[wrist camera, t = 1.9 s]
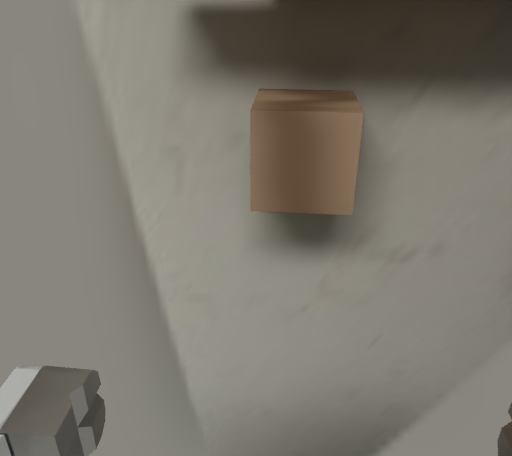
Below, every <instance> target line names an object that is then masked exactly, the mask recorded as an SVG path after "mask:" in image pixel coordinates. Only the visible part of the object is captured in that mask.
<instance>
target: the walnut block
mask: <svg viewBox="0 0 512 456" xmlns="http://www.w3.org/2000/svg"><path fill="white" fill-rule="evenodd" d="M363 117H364V112H363V110H362V108H361V106H360V104H359V102H358V100H357V98H356V96H355V94H354V93H353V91H335V90H288V89H259V91H258V94H257V96H256V98H255V101H254V103H253V106H252V108H251V211H260V212H284V213H309V214H333V215H352V214H353V205H354V196H355V187H356V179H357V170H358V161H359V152H360V143H361V135H362V126H363Z"/></svg>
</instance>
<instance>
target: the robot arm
mask: <svg viewBox="0 0 512 456" xmlns="http://www.w3.org/2000/svg"><path fill="white" fill-rule="evenodd" d="M100 385H101V383H100V378H99V374H98V372H97V371H95V370H88V369H77V368H65V367H55V366H39V365H28V364H22V365H20V366H19V367H17V368H15V369H14V370H13V372H12V373H11V374H10V376H9V377H8V378H7V380H6V381H5V382H4V384H3V385H2V386H1V388H0V456H88V455H89V454H90V453H92V452H93V451H94V450H95V449H96V448H97V446H98V444H99V441H100V439H101V436H102V432H103V428H104V423H105V404H104V400H103V399H102V398H101V397H100V396H99V395H98V394H97V391H98V389H99V387H100ZM508 413H509V415H510V417H511V419H512V403H511V405H510V408H509V410H508ZM498 456H512V421H511V422H510V423H508V424H507V425H505V426H504V427H502V429H501V432H500V435H499V438H498Z"/></svg>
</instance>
